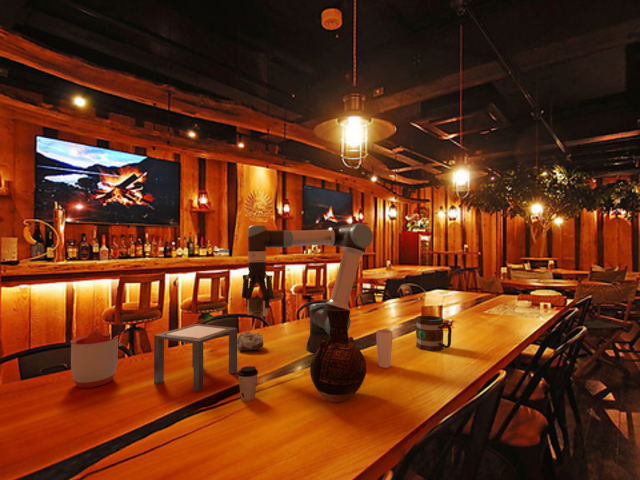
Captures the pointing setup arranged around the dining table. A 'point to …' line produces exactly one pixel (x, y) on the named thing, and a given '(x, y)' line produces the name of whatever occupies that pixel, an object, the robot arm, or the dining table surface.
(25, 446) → the dining table surface
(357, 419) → the dining table surface
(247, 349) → the geode
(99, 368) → the citrus juicer
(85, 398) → the dining table surface
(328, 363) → the ceramic vessel
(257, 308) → the brown rounded piece
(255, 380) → the coffee cup
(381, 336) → the drinking glass
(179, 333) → the trapdoor
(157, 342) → the stand
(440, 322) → the mug
